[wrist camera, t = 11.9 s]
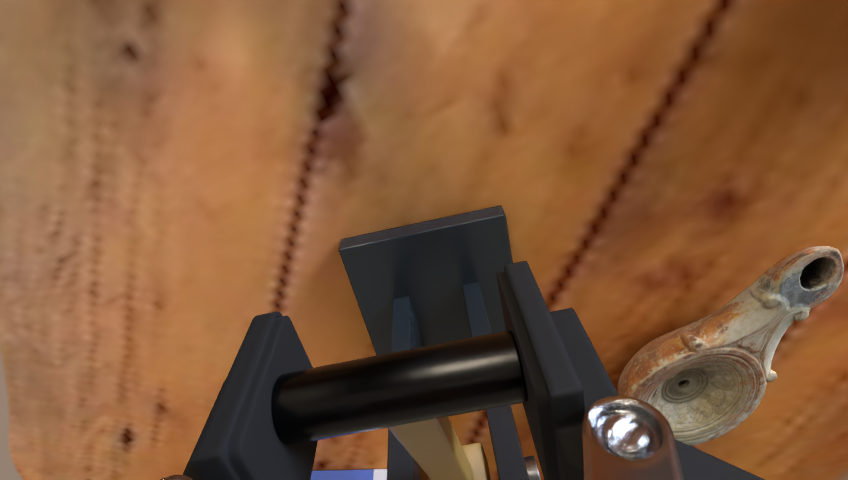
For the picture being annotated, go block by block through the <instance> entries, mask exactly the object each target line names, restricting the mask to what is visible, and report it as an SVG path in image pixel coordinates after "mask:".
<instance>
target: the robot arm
mask: <svg viewBox="0 0 848 480" xmlns="http://www.w3.org/2000/svg"><path fill="white" fill-rule="evenodd" d="M496 275H497V282H498V287H499V293H500V299H501V305H502V311H503V317H504V323H505V329H506V331H507V330H511V331H512V332H513V335H514V337H515V341H516V344H517V347H518V351H519V355H520V359H521V363H522V367H523V372H524V377H525V382H526V387H527V394H528V401H527V402H524V403H523V406H524V409H525V413H526V416H527V420H528V423H529V427H530V430H531V434H532V437H533V441H534V445H535V448H536V452H537V455H538V459H539V462H540V466H541V469H542V473H543V476H544V480H764V479H762V478H760V477H758V476H756V475H753V474H751V473H749V472H747V471H745V470H742V469H740V468H738V467H736V466H733V465H731V464H729V463H727V462H725V461H722V460H720V459H718V458H716V457H714V456H711V455H709V454H707V453H705V452H703V451H700V450H698V449H696V448H694V447H692V446H689V445H687V444H685V443H683V442H680V441H678V440H676V439H675V438H674V434H673V431H672V428H671V426H670V424H669V421H668V420H667V419H666V418H665V417H664V415H663V414H662V413H661V412H660V411H659V410H657V409H656V408H655V407H653V406H652V405H650V404H649V403H647V402H644V401H642V400H639V399H637V398H633V397H627V396H619V395H618V393H617V391H616V389H615V387H614V385H613V383H612V381H611V380H610V378H609V376H608V374H607V372H606V370H605V368H604V366H603V364H602V362H601V360H600V358H599V356H598V355H597V353H596V351H595V349H594V347H593V345H592V343H591V341H590V339H589V337H588V335H587V333H586V331H585V330H584V328H583V326H582V324H581V322H580V320H579V318H578V316H577V314H576V313H575V311H574V310H573V309H572V308H568V309H563V310H558V311H553V312H549V310H548V308H547V306H546V304H545V301H544V299H543V297H542V294H541V292H540V290H539V288H538V285H537V283H536V281H535V279H534V276H533V274H532V272H531V269H530V267H529V265H528V263H527V261H523V262H518V263H513V264H508V265H504V272H499V273H496ZM311 368H313V367H312V365H311V363H310V361H309V358H308V356H307V354H306V352H305V350H304V348H303V345H302V343H301V341H300V339H299V337H298V335H297V332H296V330H295V328H294V326H293V324H292V322H291V320H290V318H289V317H288V316H282V314H281V313H280V312H272V313H267V314H262V315H258V316H255V317H254V318H253V320H252V322H251V324H250V327H249V329H248V331H247V333H246V336H245V338H244V340H243V342H242V345H241V347H240V349H239V351H238V354H237V356H236V358H235V360H234V363H233V365H232V367H231V370H230V372H229V374H228V376H227V378H226V380H225V381H224V383H223V386H222V388H221V390H220V392H219V395H218V397H217V399H216V401H215V403H214V406H213V408H212V410H211V412H210V415H209V417H208V419H207V421H206V424H205V426H204V428H203V430H202V433H201V435H200V437H199V439H198V442H197V444H196V446H195V448H194V451H193V453H192V455H191V457H190V460H189V462H188V464H187V466H186V468H185V471H184V473H183V475H173V476H169V477H166V478H163V479H161V480H310V479H311V474H312V468H313V463H314V458H315V452H316V447H317V441H318V440H315V441H310V442H304V443H299V444H293V445H286V444H284V443H282V442H281V441H280V439H279V438H278V436H277V434H276V431H275V428H274V425H273V420H272V412H271V397H272V391H273V387H274V384H275V381H276V379H277V378H278V377H279V376H280V375H282V374H285V373H290V372H295V371H300V370H305V369H311Z"/></svg>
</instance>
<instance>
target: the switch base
mask: <svg viewBox="0 0 848 480" xmlns="http://www.w3.org/2000/svg"><path fill="white" fill-rule="evenodd" d="M339 253H340V255H341V258H342V261H343V264H344V266H345V269H346V272H347V275H348V277H349V280H350V283H351V286H352V289H353V291H354V294H355V297H356V300H357V302H358V305H359V308H360V311H361V313H362V316H363V319H364V322H365V324H366V327H367V330H368V333H369V336H370V338H371V341H372V344H373V347H374V349H375V352H376V355H377V356H378V355H383V354H388V353H393V352H399V351H404V350H409V349H414V348H419V347H425V346H430V345H435V344H440V343H445V342H450V341H456V340H461V339H466V338H471V337H476V336H481V335H487V334H492V333H497V332H502V331H506V329H505V323H504V317H503V311H502V305H501V299H500V293H499V287H498V282H497V275H496V273H499V272H504V265H508V264H513V262H512V255H511V249H510V242H509V235H508V228H507V221H506V215H505V213H504V210H503V208H502V206H496V207H491V208H486V209H482V210H477V211H472V212H468V213H463V214H458V215H453V216H449V217H444V218H439V219H435V220H430V221H425V222H421V223H416V224H411V225H406V226H402V227H397V228H392V229H388V230H383V231H378V232H374V233H369V234H364V235H359V236H355V237H350V238H345V239H342V240H341V242H340V247H339ZM486 414H487V419H488V424H489V430H490V435H491V440H492V445H493V450H494V455H495V461H496V466H497V471H498V476H499V480H541V478H540V474H539V470H538V466H537V462H536V459H535V457H534V456H527V457H523V453H522V449H521V445H520V441H519V437H518V433H517V429H516V425H515V421H514V417H513V413H512V410H511V406H510V405H508V406H502V407H497V408H491V409H486ZM387 480H429V477H428V475H427V474H426V473H425V471H424V470H423V469H422V468H421V467H420V465H419V464H418V463H417V462H416V461H415V459H414V458H413V457H412V456H411V455H410V453H409V452H408V451H407V450H406V449H405V448H404V446H403V445H402V444H401V443H400V442H399V440H398V439H397V438H396V437H395V436H394V434H393V433H392V432H391V431H390V430H389V429H388V460H387Z"/></svg>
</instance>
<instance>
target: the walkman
mask: <svg viewBox="0 0 848 480" xmlns="http://www.w3.org/2000/svg"><path fill="white" fill-rule="evenodd" d="M310 480H387V469H372V470H329V471H312V474H311V479H310Z"/></svg>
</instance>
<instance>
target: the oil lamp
mask: <svg viewBox="0 0 848 480" xmlns="http://www.w3.org/2000/svg"><path fill="white" fill-rule="evenodd" d="M843 271H844V264H843V260H842V256H841V254H840V252H839V250H838V249H835V248H833V247H829V246H816V247H810V248H806V249H803V250H800V251H797V252H795V253H793V254H791V255H789V256H787V257H785V258H783V259H782V260H780V261H779V262H777V263H776V264H775V265H774V266H772V267H771V268H770V269H768V270H767V271H766V272H765V273H764V274H763V275H762V276H761V277H760V278H759V279H758V280H756V281H755V282H754V283H753V284H752V285H751V286H749V287H748V288H746V289H745V290H743V291H742V292H741V293H740V294H739V295H737V296H736V297H735V298H734V299H732V300H731V301H730V302H728V303H727V304H725V305H724V306H723V307H721V308H720V309H718V310H717V311H715V312H714V313H712V314H710V315H708V316H707V317H705V318H703V319H701V320H698V321H696V322H693V323H691V324H688V325H686V326H684V327H681V328H679V329H676V330H674V331H671V332H669V333H667V334H664V335H662V336H660V337H658V338H656V339H653V340H652V341H650V342H649V343H647V344H646V345H644V346H643V347H642V348H641V349H640V350H639V351H637V352H636V353H635V354H634V355H633V357H632V358H631V359H630V361H629V362H628V363H627V365H626V366H625V368H624V369H623V371H622V373H621V376H620V378H619V381H618V388H617V393H618V395H619V396H627V397H633V398H637V399H639V400H642V401H644V402H647V403H649V404H650V405H652V406H653V407H655V408H656V409H657V410H659V411H660V412H661V413H662V414H663V415H664V417H665V418H666V419H667V420H668V421H669V424H670V426H671V428H672V431H673V434H674V438H675V439H676V440H678V441H680V442H683V443H685V444H687V445H689V446H691V445H696V444H699V443H702V442H706V441H709V440H712V439H715V438H717V437H719V436H721V435H723V434H725V433H727V432H728V431H730V430H732V429H734V428H735V427H736V426H738V425H739V424H740V423H742V422H743V421H744V420H745V419H746V418H747V417H748V416H749V415H750V414H751V413H752V412H753V411H754V410H755V409H756V408H757V406H758V405H759V403H760V401H761V399H762V397H763V396H764V392H765V388H766V384H767V382H772V381H774V380H775V379H776V378H777V374H776V372H774V371H772V370H771V369H770V368H771V361H772V358H773V355H774V352H775V350H776V347H777V345H778V343H779V341H780V339H781V337H782V335H783V334H784V332H785V331H786V329H787V328H788V327H789V326H790V325H791V324H792V322H793V321H795V320H798V321H801V320H804V319H806V318H807V317H808V316H809V310H810V309H811V308H812V307H814V306H816V305H818V304H820V303H821V302H823V301H824V300H825V299H827V298H828V297H830V296H831V294H832V293H833V292H834V291H835V290H836V289H837V287H838V285H839V284H840V282H841V280H842V276H843Z"/></svg>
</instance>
